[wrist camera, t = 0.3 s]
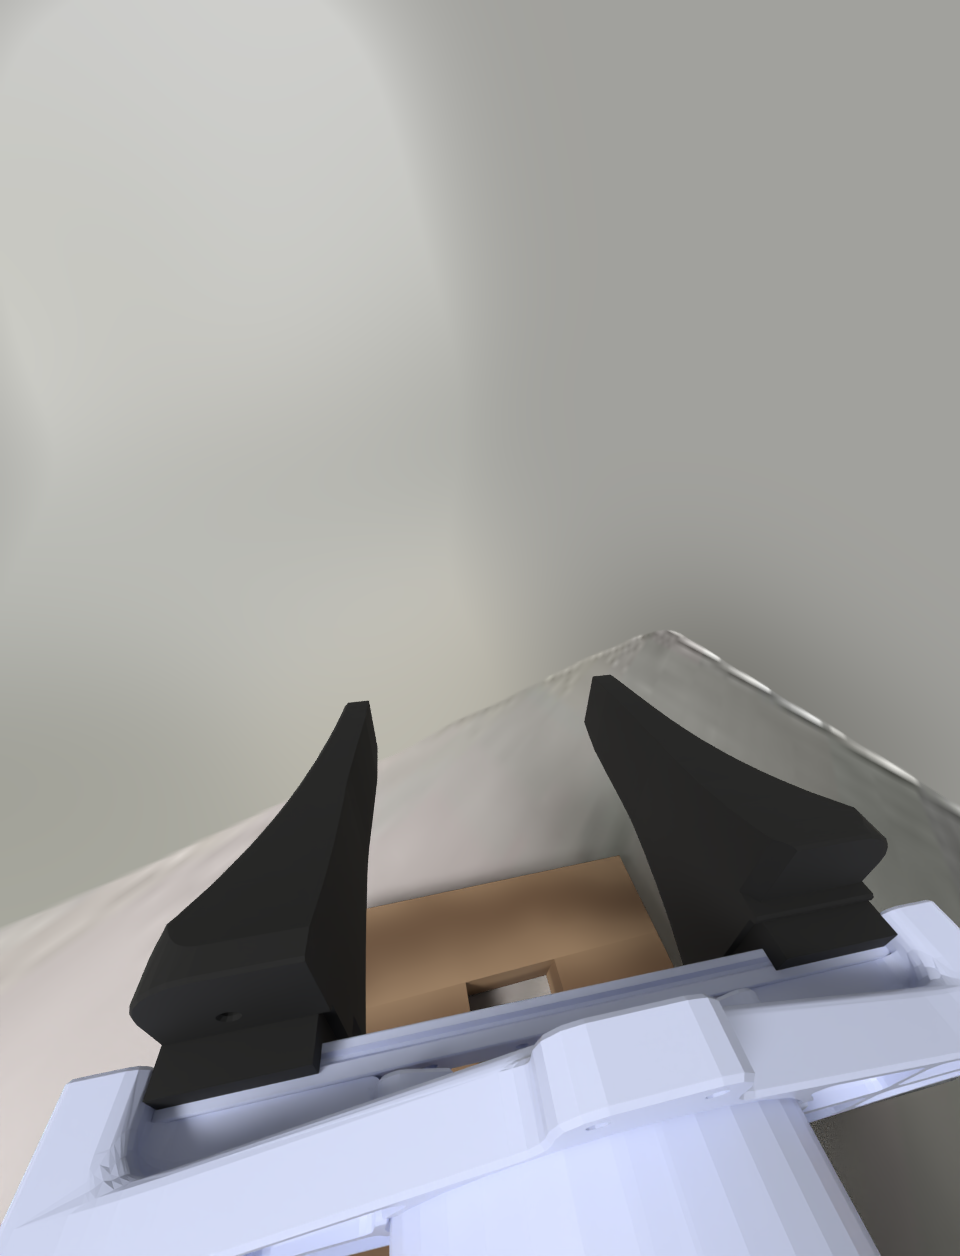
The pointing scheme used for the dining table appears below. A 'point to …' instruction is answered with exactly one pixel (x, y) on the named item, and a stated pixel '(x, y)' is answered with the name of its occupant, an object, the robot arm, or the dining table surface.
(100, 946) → the dining table surface
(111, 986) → the dining table surface
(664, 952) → the hole board
